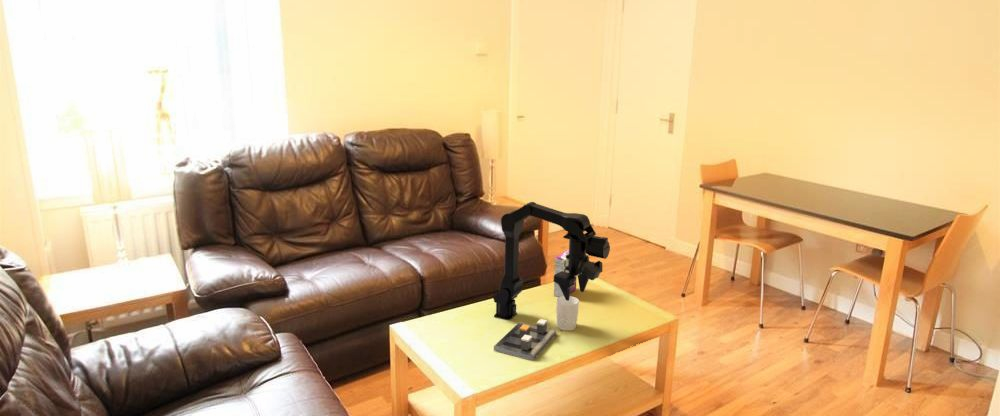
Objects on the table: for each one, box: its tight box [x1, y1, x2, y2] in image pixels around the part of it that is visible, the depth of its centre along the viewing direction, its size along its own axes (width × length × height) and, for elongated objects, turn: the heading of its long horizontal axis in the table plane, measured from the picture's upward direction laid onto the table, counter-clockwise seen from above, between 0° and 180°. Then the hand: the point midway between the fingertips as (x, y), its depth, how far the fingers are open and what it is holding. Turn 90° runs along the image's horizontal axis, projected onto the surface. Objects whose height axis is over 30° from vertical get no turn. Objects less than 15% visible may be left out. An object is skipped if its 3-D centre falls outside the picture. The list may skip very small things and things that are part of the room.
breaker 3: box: [536, 318, 548, 334], centre depth 205 cm, size 2×3×4 cm
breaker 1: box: [519, 324, 530, 338], centre depth 201 cm, size 2×3×4 cm
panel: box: [493, 322, 557, 361], centre depth 201 cm, size 14×20×2 cm
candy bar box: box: [553, 249, 577, 298], centre depth 240 cm, size 11×5×16 cm, turn 148°
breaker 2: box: [521, 335, 532, 350], centre depth 194 cm, size 2×3×4 cm
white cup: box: [555, 295, 580, 332], centre depth 212 cm, size 8×8×10 cm
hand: (574, 296), depth 204 cm, fingers open, 9 cm apart
